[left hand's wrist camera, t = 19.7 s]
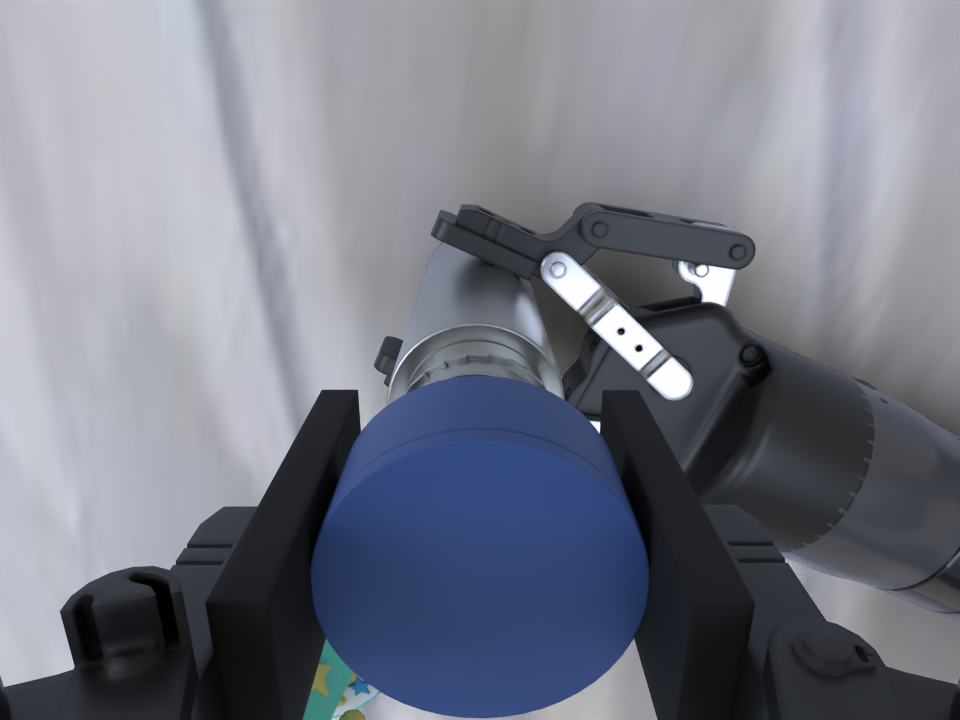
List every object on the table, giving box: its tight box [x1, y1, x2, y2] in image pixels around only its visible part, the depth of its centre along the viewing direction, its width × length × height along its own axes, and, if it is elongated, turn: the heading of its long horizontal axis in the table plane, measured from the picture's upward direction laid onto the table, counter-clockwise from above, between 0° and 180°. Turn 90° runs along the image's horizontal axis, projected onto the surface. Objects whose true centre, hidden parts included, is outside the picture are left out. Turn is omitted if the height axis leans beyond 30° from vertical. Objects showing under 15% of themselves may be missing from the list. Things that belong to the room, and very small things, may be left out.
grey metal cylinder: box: [387, 242, 565, 405], centre depth 23 cm, size 5×5×16 cm
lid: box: [310, 376, 650, 718], centre depth 12 cm, size 5×5×2 cm
